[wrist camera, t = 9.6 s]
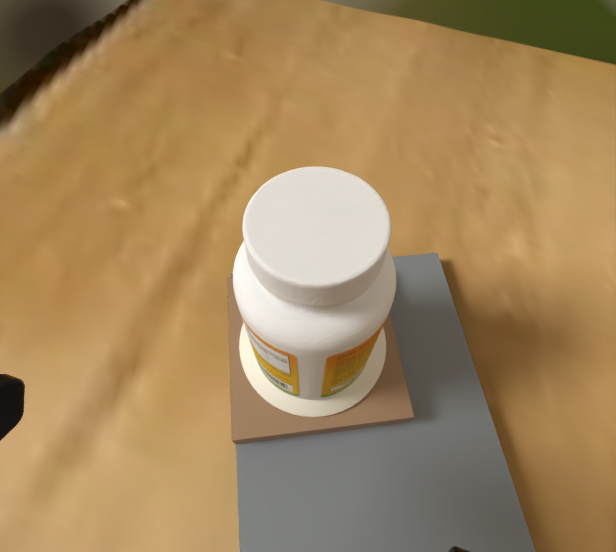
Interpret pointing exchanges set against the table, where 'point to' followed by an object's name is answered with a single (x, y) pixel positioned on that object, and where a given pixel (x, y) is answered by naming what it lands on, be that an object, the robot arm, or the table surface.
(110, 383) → the table surface
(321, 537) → the grey board
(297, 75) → the table surface
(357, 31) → the table surface
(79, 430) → the table surface
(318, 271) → the supplement bottle
